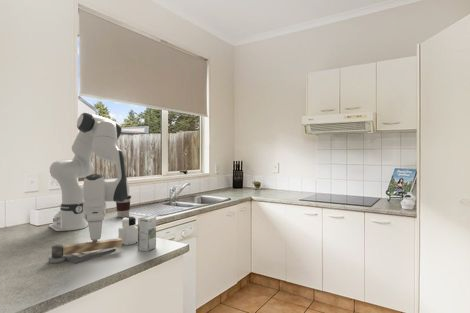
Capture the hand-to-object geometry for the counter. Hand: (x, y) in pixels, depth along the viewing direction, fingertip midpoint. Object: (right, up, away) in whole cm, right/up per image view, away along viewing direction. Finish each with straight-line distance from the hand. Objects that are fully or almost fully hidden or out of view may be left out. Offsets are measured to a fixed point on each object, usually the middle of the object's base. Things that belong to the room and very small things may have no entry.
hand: (94, 244), depth 126 cm
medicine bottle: (+9, -4, +15) cm, 18 cm away
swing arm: (-1, -2, -4) cm, 4 cm away
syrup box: (+21, -4, +6) cm, 22 cm away
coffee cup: (-15, -2, +71) cm, 72 cm away
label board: (-5, -4, -2) cm, 7 cm away
